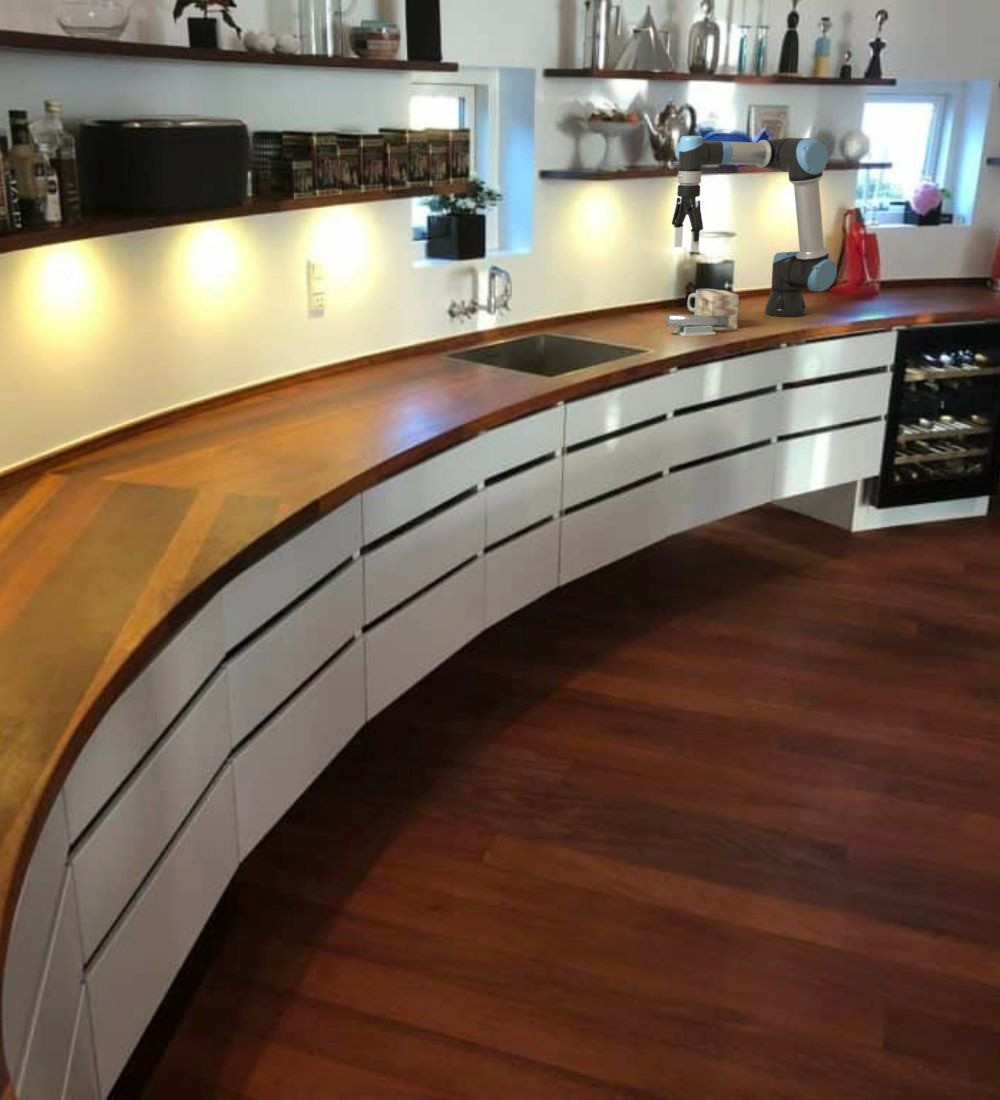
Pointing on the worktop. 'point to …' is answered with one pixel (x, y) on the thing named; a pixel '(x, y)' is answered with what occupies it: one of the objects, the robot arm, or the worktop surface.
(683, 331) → the cradle
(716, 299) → the patterned beige cube
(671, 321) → the axle
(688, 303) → the mug
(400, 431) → the worktop surface
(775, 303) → the robot arm
